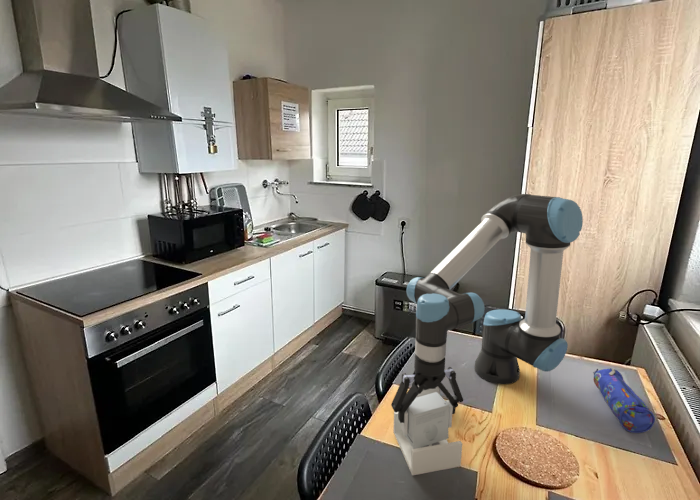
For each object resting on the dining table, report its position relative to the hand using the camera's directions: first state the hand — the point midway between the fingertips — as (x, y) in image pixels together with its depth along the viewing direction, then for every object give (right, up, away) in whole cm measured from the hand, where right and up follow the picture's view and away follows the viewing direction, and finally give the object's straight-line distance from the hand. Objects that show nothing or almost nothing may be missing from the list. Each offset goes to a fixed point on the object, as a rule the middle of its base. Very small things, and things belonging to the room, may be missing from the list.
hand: (426, 427), depth 101 cm
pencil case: (+62, -2, +16) cm, 65 cm away
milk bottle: (+5, -1, +22) cm, 23 cm away
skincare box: (0, -3, +1) cm, 3 cm away
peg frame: (0, -6, +2) cm, 7 cm away
